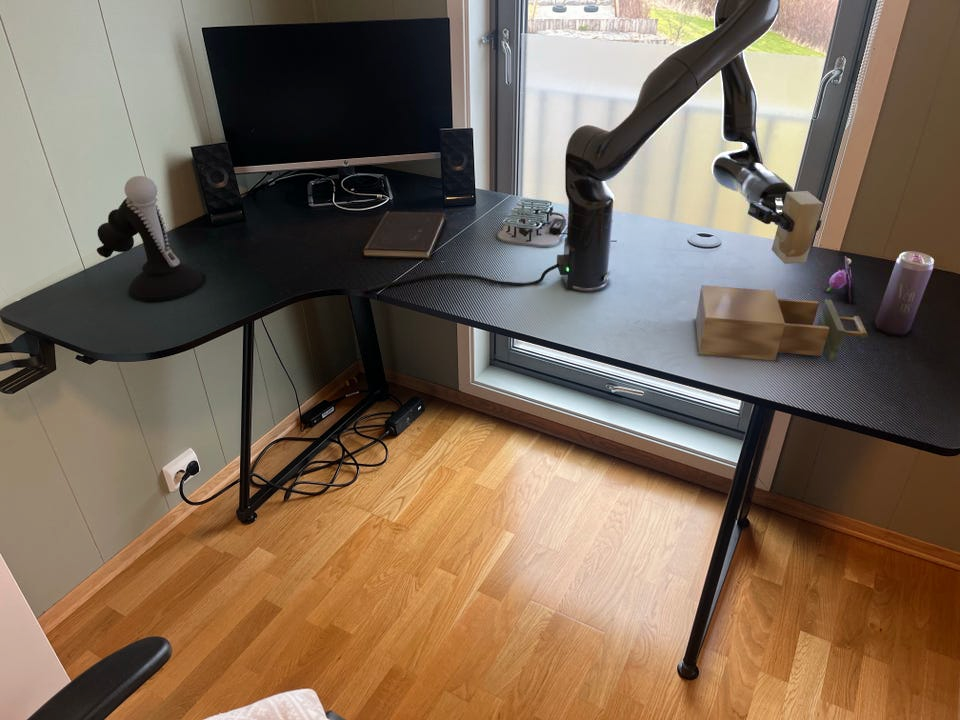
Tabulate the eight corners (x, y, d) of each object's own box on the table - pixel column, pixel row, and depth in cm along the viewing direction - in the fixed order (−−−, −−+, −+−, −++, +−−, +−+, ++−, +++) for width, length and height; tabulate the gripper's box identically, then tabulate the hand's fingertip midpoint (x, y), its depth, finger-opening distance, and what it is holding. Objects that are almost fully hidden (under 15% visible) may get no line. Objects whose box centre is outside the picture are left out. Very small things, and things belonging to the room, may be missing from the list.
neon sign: (614, 238, 162) (493, 225, 170) (612, 255, 164) (493, 241, 172) (627, 205, 178) (517, 194, 186) (626, 221, 181) (517, 209, 189)
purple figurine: (852, 273, 140) (850, 255, 147) (823, 277, 142) (823, 259, 149) (855, 302, 143) (853, 283, 150) (827, 306, 145) (826, 287, 152)
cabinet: (766, 325, 137) (774, 290, 132) (775, 360, 127) (785, 323, 122) (695, 320, 139) (701, 285, 135) (699, 354, 129) (706, 317, 125)
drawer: (849, 330, 133) (859, 301, 130) (864, 362, 124) (875, 333, 121) (755, 322, 136) (762, 294, 133) (763, 354, 127) (770, 324, 124)
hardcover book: (445, 221, 183) (444, 212, 182) (429, 259, 165) (428, 250, 163) (385, 219, 185) (385, 211, 184) (363, 257, 166) (362, 248, 165)
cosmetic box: (770, 250, 138) (784, 190, 131) (791, 249, 138) (807, 189, 131) (784, 265, 132) (800, 203, 125) (807, 263, 133) (824, 202, 126)
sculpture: (172, 306, 148) (137, 193, 134) (84, 290, 155) (43, 181, 141) (216, 274, 160) (188, 167, 146) (133, 261, 167) (99, 158, 153)
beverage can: (908, 324, 136) (934, 254, 128) (909, 339, 132) (936, 267, 123) (874, 318, 138) (898, 248, 130) (874, 332, 134) (898, 261, 125)
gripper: (736, 176, 140) (771, 208, 126) (805, 174, 141) (848, 206, 127) (729, 211, 144) (762, 246, 130) (796, 209, 145) (836, 244, 131)
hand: (804, 226), depth 129 cm, fingers closed on cosmetic box, 4 cm apart
